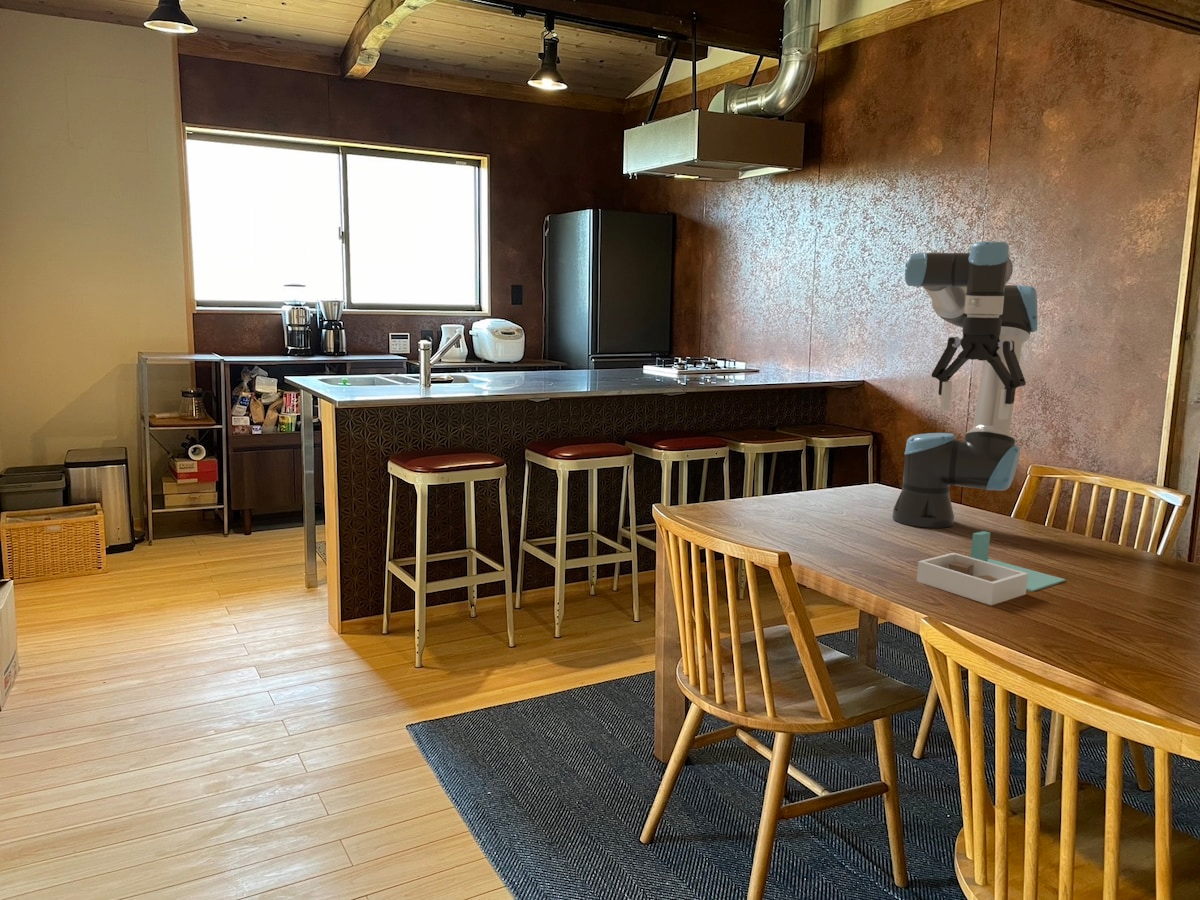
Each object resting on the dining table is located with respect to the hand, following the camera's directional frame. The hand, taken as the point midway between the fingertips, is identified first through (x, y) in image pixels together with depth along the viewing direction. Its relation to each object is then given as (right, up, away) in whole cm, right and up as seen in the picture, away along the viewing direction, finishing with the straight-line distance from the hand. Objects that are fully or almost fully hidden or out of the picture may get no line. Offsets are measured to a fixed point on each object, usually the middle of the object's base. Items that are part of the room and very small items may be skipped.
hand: (973, 414), depth 188 cm
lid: (+4, -34, -8) cm, 35 cm away
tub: (-8, -36, -17) cm, 40 cm away
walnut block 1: (-8, -34, -13) cm, 38 cm away
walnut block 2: (-7, -36, -22) cm, 43 cm away
